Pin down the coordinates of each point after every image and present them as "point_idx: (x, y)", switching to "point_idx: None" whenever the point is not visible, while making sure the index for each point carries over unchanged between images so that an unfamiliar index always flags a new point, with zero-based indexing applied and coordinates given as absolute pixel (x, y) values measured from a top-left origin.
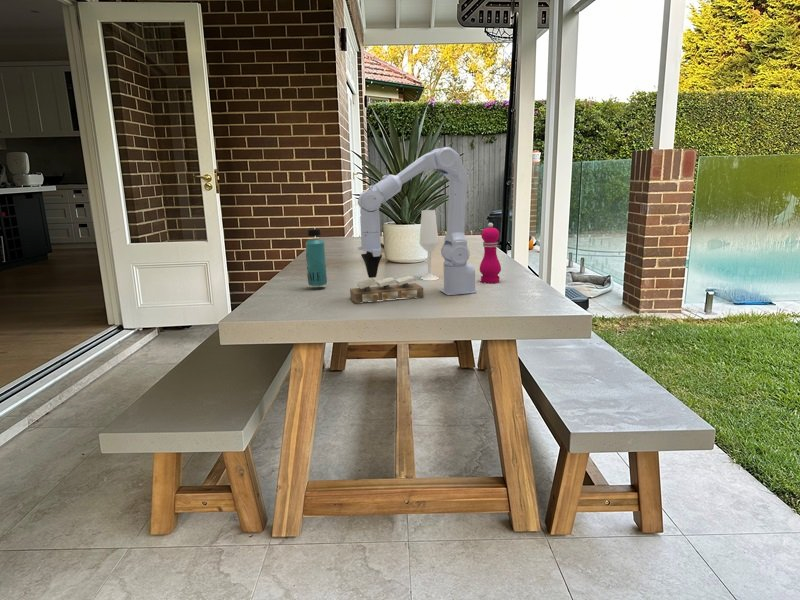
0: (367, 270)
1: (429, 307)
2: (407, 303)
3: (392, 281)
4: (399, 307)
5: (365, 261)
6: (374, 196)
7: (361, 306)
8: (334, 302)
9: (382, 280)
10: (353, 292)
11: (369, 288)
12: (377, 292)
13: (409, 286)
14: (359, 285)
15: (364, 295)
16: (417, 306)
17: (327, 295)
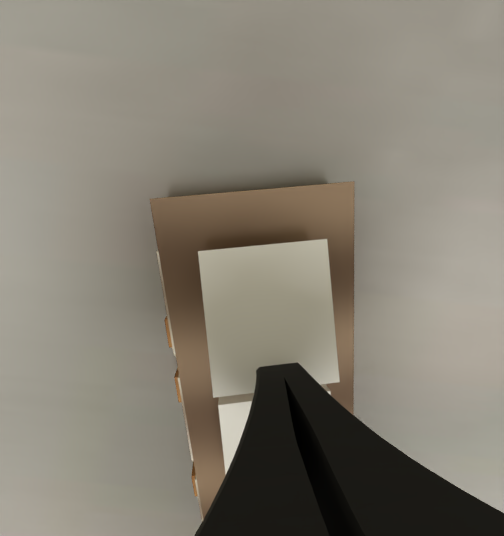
0: (281, 403)
1: (13, 523)
2: (114, 452)
3: None
4: (33, 410)
5: (276, 530)
6: None
7: (94, 226)
8: (249, 62)
9: None
10: (215, 193)
11: None
12: (176, 354)
13: None
14: (209, 250)
15: (160, 264)
16: (41, 483)
17: (475, 35)
